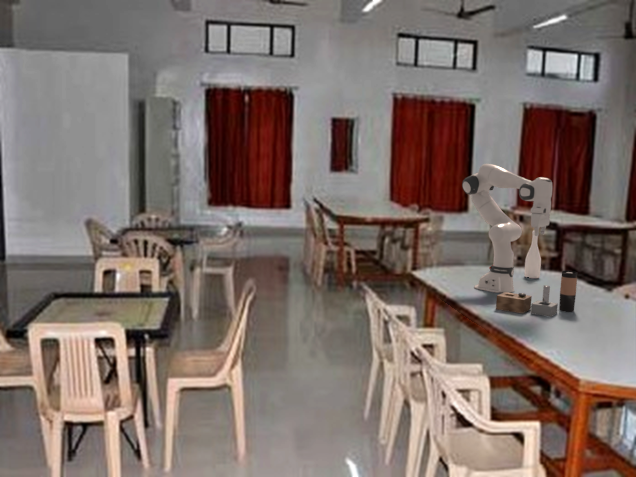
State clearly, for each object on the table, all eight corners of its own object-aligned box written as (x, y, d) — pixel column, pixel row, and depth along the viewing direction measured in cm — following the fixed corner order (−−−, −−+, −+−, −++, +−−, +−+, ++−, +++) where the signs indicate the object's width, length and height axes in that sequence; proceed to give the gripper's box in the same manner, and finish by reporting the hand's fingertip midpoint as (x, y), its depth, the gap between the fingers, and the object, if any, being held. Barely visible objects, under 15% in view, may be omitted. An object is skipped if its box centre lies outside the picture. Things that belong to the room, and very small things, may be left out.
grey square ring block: (530, 313, 354) (531, 303, 353) (537, 309, 362) (537, 300, 361) (550, 316, 348) (551, 306, 348) (556, 313, 356) (557, 303, 356)
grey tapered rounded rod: (540, 313, 355) (542, 286, 353) (542, 312, 357) (544, 285, 355) (546, 314, 353) (548, 286, 351) (548, 313, 355) (550, 286, 353)
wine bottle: (541, 279, 450) (545, 232, 446) (526, 278, 450) (530, 231, 446) (537, 276, 459) (540, 230, 455) (522, 275, 459) (525, 229, 455)
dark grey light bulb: (516, 309, 359) (517, 293, 358) (518, 308, 362) (519, 292, 361) (523, 310, 357) (524, 294, 356) (525, 309, 360) (526, 293, 359)
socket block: (495, 309, 361) (496, 295, 360) (504, 305, 371) (505, 292, 370) (522, 313, 353) (523, 299, 352) (530, 309, 363) (531, 295, 362)
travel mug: (574, 309, 366) (577, 271, 363) (574, 312, 359) (577, 273, 356) (558, 308, 368) (561, 270, 366) (558, 311, 361) (561, 272, 358)
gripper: (541, 207, 380) (539, 232, 382) (529, 209, 363) (527, 236, 365) (553, 208, 377) (551, 234, 379) (541, 210, 360) (539, 237, 362)
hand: (539, 235), depth 372 cm, fingers open, 8 cm apart
